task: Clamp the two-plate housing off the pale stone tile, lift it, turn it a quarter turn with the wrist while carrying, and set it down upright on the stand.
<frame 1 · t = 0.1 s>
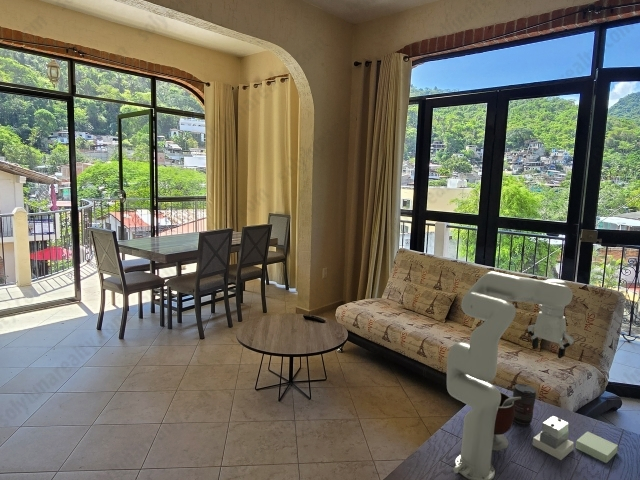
hand: (547, 352, 160), 31 cm above the table, fingers open, 9 cm apart
mate gourd: (492, 441, 154), on the table
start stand: (552, 447, 151), on the table
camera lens: (521, 422, 167), on the table
housing: (553, 440, 151), point 3 cm above the table, touching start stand
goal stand: (595, 450, 151), on the table
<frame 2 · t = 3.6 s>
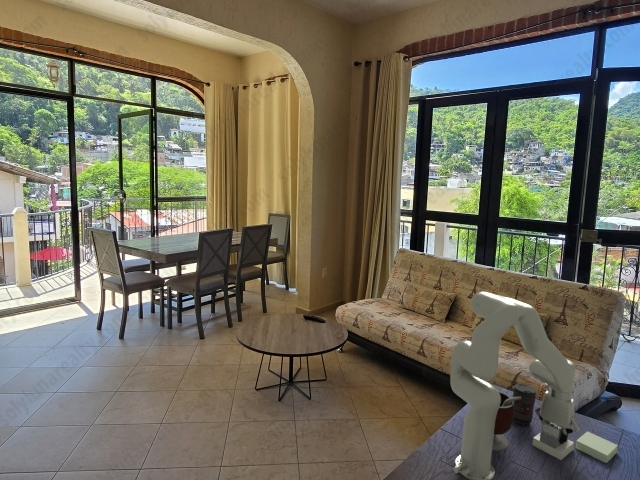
hand: (553, 437, 151), 4 cm above the table, fingers closed on housing, 5 cm apart
housing: (553, 440, 151), point 3 cm above the table, touching gripper, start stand
everything else where it was.
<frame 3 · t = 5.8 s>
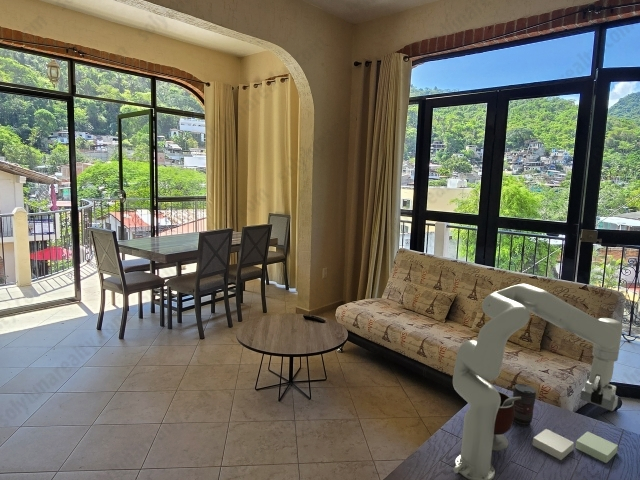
hand: (598, 399, 148), 20 cm above the table, fingers closed on housing, 5 cm apart
housing: (598, 402, 148), point 19 cm above the table, touching gripper
everything else where it was.
when the fingers open (5 cm above the table, at t = 8.1 s): housing drops 1 cm, resting on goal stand.
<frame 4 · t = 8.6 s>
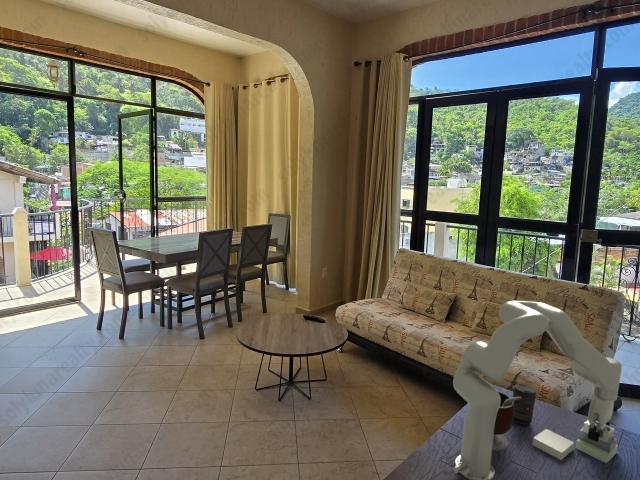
hand: (598, 435, 150), 6 cm above the table, fingers open, 9 cm apart
housing: (596, 443, 150), point 3 cm above the table, touching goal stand
everything else where it was.
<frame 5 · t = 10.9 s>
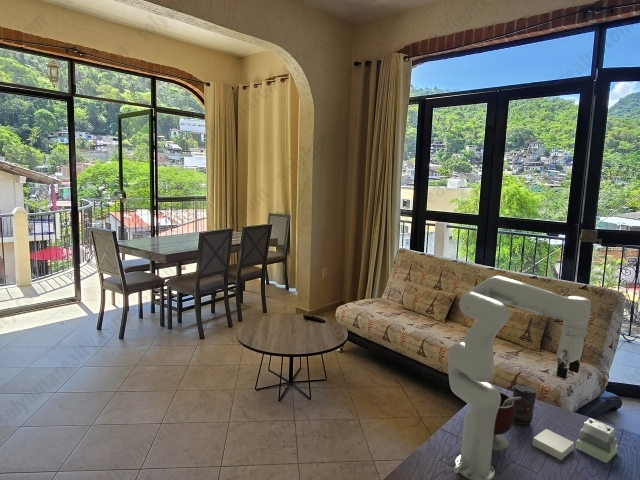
hand: (567, 374, 151), 27 cm above the table, fingers open, 9 cm apart
nothing on the table moved.
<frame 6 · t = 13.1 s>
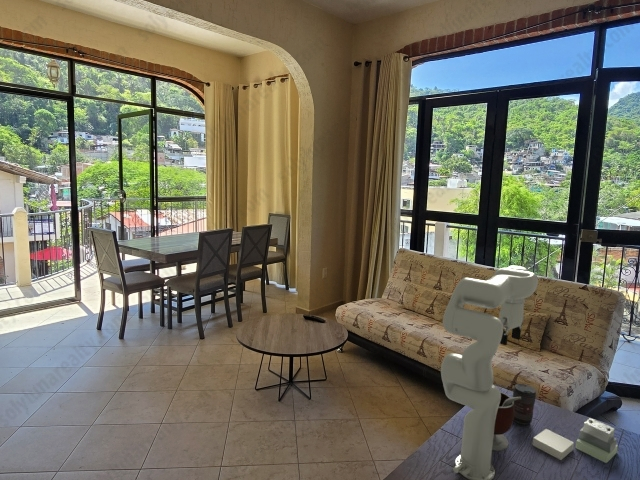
hand: (509, 341, 157), 36 cm above the table, fingers open, 9 cm apart
nothing on the table moved.
at the end: housing inside the target area on the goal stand (0.2 cm from its centre), point 3.0 cm above the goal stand's base; housing tilted 0°; the gripper is holding nothing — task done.
